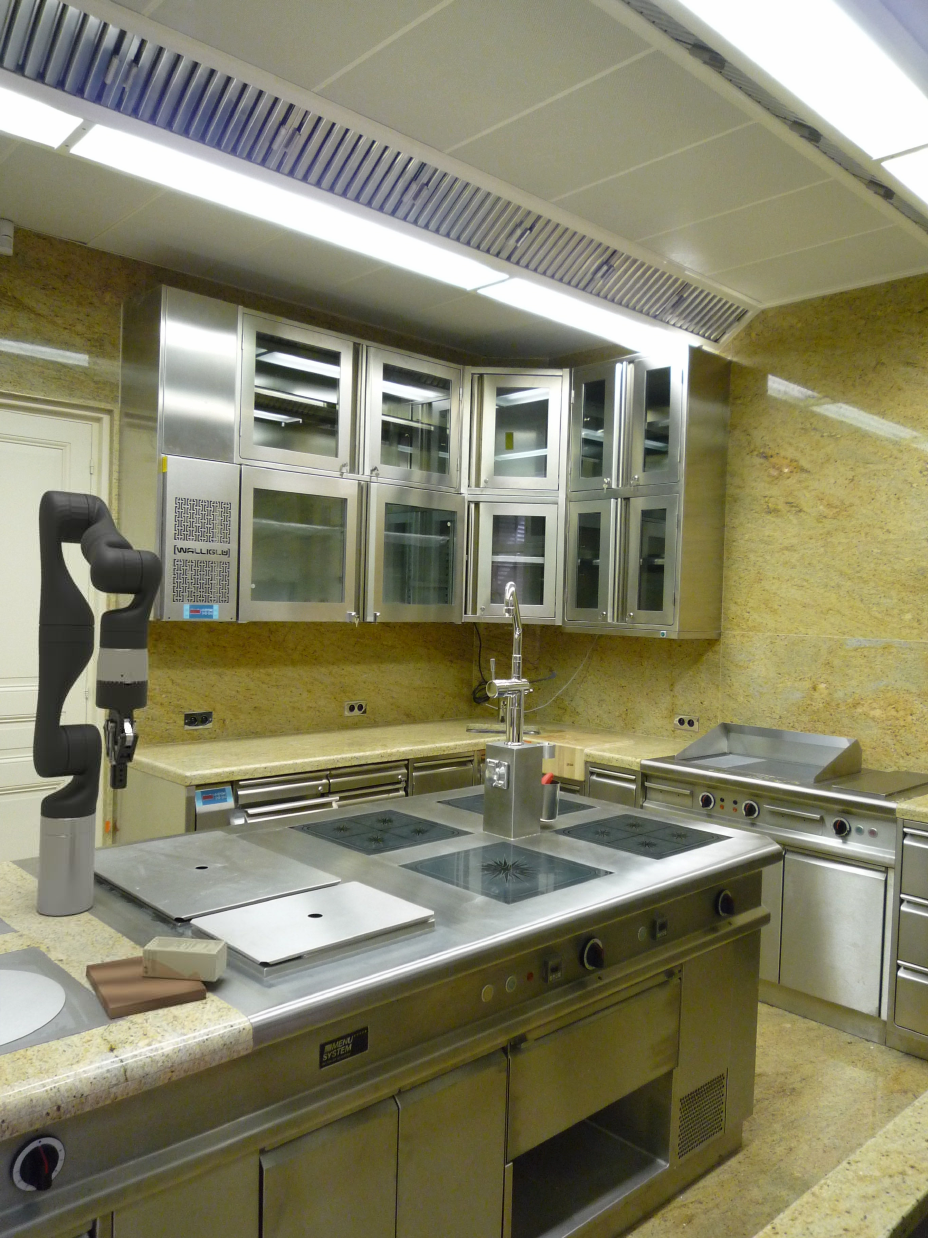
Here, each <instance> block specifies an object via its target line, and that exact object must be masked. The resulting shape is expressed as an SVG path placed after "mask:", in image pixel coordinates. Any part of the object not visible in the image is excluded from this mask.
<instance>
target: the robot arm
mask: <svg viewBox="0 0 928 1238" xmlns="http://www.w3.org/2000/svg"><path fill="white" fill-rule="evenodd" d="M38 509H39V510H38V533H39V535H38V536H39V557H40V559H39V560H40V596H39V598H40V600H39V614H38V616H39V617H38V644H37V645H38V687H37V688H38V689H37V691H38V692H37V701H36V702H37V703H36V711H35V720H34V721H35V723H34V731H33V741H32V742H33V743H32V760H33V767H34V769H35V772H36V774H37V776H39V777H40V778H43V779H51V778H53V779H54V778H63V777H71V776H73V777H72V778H71V780H70V781H69V782H68V783H67V784H65V786H63V787H62V788H59V790H56V791H55V792H52V793H50V794H48V795H46V796H45V797H44V798H43V799H42V800H41V803H40V820H39V849H38V850H39V853H38V875H37V893H36V894H37V895H36V896H37V897H36V898H37V899H36V912H38V913H39V914H42V915H46V916H70V915H74V914H80V913H83V912H85V911H87V910H89V909H91V908H92V907H93V901H94V900H93V899H94V883H95V882H94V877H95V857H96V855H95V853H96V852H95V850H96V829H97V828H96V824H97V823H96V822H97V803H98V798H99V795H100V794H99V792H100V778H101V777H100V776H101V769H102V758H103V756H102V755H103V741H102V735H101V731H100V730H99V728H98V726H96V724H92V723H77V724H60V723H61V716H62V712H63V708H64V705H65V701H66V699H67V697H68V694H69V693H70V691H71V690H72V688H73V687H74V685H75V683H76V682H77V681H78V679H79V678H80V676H81V675H82V673H83V672H84V671H85V670H86V667H87V666H88V664H89V663H90V661H91V660H92V659H91V658H92V657H93V654H94V650H95V629H96V628H95V623H96V622H95V621H96V620H95V614H94V612H93V610H92V607H91V605H90V604H89V602H88V601H87V599H86V597H85V596H84V595H83V593H82V592H81V589H80V588H79V586H77V584H76V583H75V580H74V578H73V577H72V575H71V573H70V571H69V569H68V567H67V563H66V560H65V557H64V552H63V545H62V543H63V544H77V545H80V552H81V554H82V556H83V558H84V559H85V561H86V562H87V563H88V564H89V566H90V568H89V578H90V582H91V585H92V586H93V587H94V589H96V590H98V591H99V592H101V593H104V594H112V595H115V594H116V595H118V594H119V595H133V598H132V600H131V602H130V603H129V604H128V605H127V606H125V607H120V608H114V609H109V610H106V611H104V612H103V613H102V614H101V617H100V620H99V621H100V625H99V643H98V644H99V648H98V649H99V650H98V655H97V660H96V661H97V662H96V679H95V681H96V682H95V684H96V685H95V701H94V702H95V706H96V707H97V708H98V709H102V710H108V713H107V715H108V716H107V718H106V719H105V720H104V724H103V727H102V729H103V735H104V743H105V752H106V753H105V755H106V757H107V758H108V762H109V764H110V768H109V769H110V771H109V774H110V775H109V776H110V777H109V787H110V788H111V789H113V790H123V789H125V788H127V786H128V784H127V783H128V765H130V763H132V762H133V761H134V756H135V752H136V749H137V744H138V742H139V736H140V735H139V732H137V726H138V725H137V723H138V722H137V720H135V717H134V715H135V713H134V711H135V710H139V709H140V710H141V709H144V708H145V707H147V705H148V693H149V692H148V689H149V688H148V687H149V653H148V646H149V645H148V643H149V641H148V639H149V623H150V620H151V619H150V618H151V614H152V610H153V606H154V604H155V600H156V598H157V594H158V591H159V589H160V586H161V584H162V579H163V575H164V574H163V573H164V572H163V569H164V568H163V565H162V561H161V558H160V557H159V556H158V555H157V554H156V553H155V552H153V551H150V550H144V549H143V550H142V549H134V547H133V545H132V543H131V542H129V540H128V539H126V537H124V535H122V534H121V533H120V531H118V528H117V526H116V523H115V521H114V518H113V516H112V514H111V511H110V510H109V507H108V505H107V503H106V502H105V501H104V500H103V499H102V498H101V497H99V496H98V495H93V494H91V493H82V492H81V493H80V492H73V491H72V492H71V491H62V490H47V491H45V492H44V493H43V495H42V496H41V499H40V502H39V508H38Z"/></svg>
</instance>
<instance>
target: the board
mask: <svg viewBox="0 0 928 1238" xmlns="http://www.w3.org/2000/svg"><path fill="white" fill-rule="evenodd" d="M142 963H143V954H142V955H138V956H132V957H126V958H121V959H115V960H109V961H103V962H99V963H92V964H87V965H86V966H85V969H86V970H85V977H86V978H87V981H88V982H89V983H90V986H91V987H92V990H93V991H94V992H95V994H96V996H97V998H98V1000H99V1003H100V1004H101V1005H102V1008H103V1010H104V1011H105V1013H106V1014H107V1016H108V1019H110V1020H113V1019H117V1018H122V1017H127V1016H132V1015H136V1014H140V1013H145V1012H149V1011H150V1010H151V1011H155V1010H159V1008H160V1009H164V1008H163V1007H165V1008H169V1007H173V1005H174V1006H177V1005H182V1004H188V1003H192V1002H193V1003H194V1002H196V1001H202V1000H206V999H207V987H206V986H205V985H204V984H203V982H202V981H201V980H186V979H172V978H158V977H143V976H142ZM168 1006H169V1007H168Z"/></svg>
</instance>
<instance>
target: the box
mask: <svg viewBox="0 0 928 1238" xmlns="http://www.w3.org/2000/svg"><path fill="white" fill-rule="evenodd" d="M227 953H228V941H227V940H217V939H216V940H215V939H213V940H212V939H200V938H187V937H185V938H184V937H172V936H171V937H170V936H155V937H154V938H152V939H151V941H149V942H148V943H147V944H146V945H145V946H144V947H143V949H142V955H143V963H142V976H143V977H158V978H172V979H186V980H200V981H201V982H202V981H203V982H216V981H217V980H218V979H219V977H220V976H221V975H222V974H223V972H225V970H226V969H227V960H228V959H227V957H228V956H227V955H228V954H227Z"/></svg>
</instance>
